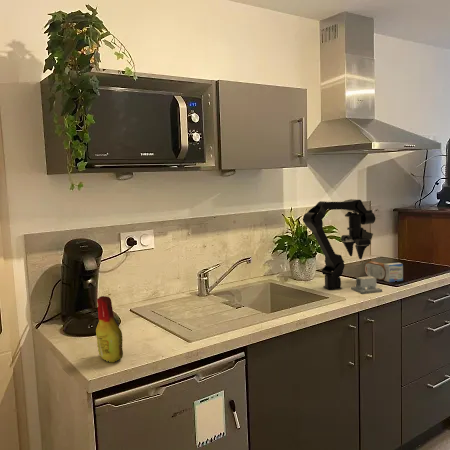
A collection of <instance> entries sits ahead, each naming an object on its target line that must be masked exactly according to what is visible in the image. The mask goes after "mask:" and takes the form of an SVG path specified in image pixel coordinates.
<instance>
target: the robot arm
mask: <svg viewBox="0 0 450 450" xmlns="http://www.w3.org/2000/svg"><path fill="white" fill-rule="evenodd" d="M328 210H329V211H331V210H334V211H335V210H343V211H347V213H345V215H344V217H347V218H348V226H347V227H346V229H347V230H348V234H343V235H341V236H340V241H341V242H342V244H343V245H344V247H345V249H346V250H347V253H348V256H350V257H352V256H353V254H354V253H353V252H354V246H355V250H356V253H357V256H358V259H359V260H362V259H363V256H364V253H365V250H366V248H367V247H369V246H371V245H372V242H371V241H372V239H373V235H374V233H372V232H369V231H367V230H366V229H364V227H362V225H371V224H374V223H375V222H376V215H375V213H373V210H372V209H367V208H366V207H365V205H364V203H363V201H362V200H361V199H354V198H353V199H352V198H351V199H347V200H344V201H325V200H324V201H322V200H321V201H320V200H319V202H317V203H316V204H315V205H314V206H312V207H311V208H310V209H308V211H307V212H305V214H303V217H302V221H303V223H304V225H305V226H306V228H308V229H309V230H310V231H311V232H312V233H313V236H314V237H315V239H316V242H317V244H318V246H319V248H320V250H321V251H322V254H323V255H324V263H325V265H324V267H322V269H321V273H322V275H324V285H323V288H324V289H327V290H329V291H331V290H332V291H333V290H342V288H343V287H342V286H341V285H342V283H341V281H342V280H341V279H342V278H341V277H342V276H343V273H344V269H345V261H344V259H343V256H342V255H341V254H338V253H335V250H334V248H333V247H332V245H331V242H330V241H329V239H328V237H327V234H326V232H325V231H324V228H323V225H324V221H323V219H324V218H325V216H326V213H327V211H328Z"/></svg>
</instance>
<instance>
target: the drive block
mask: <svg viewBox="0 0 450 450" xmlns="http://www.w3.org/2000/svg"><path fill="white" fill-rule="evenodd" d="M355 286H356V288H357V289H359V290H365V288H366V287H367V289H374V288H375V286H377V279H376V278H375V277H372V276H367V275H366V276H360V277H356V278H355ZM377 287H378V286H377Z"/></svg>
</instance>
